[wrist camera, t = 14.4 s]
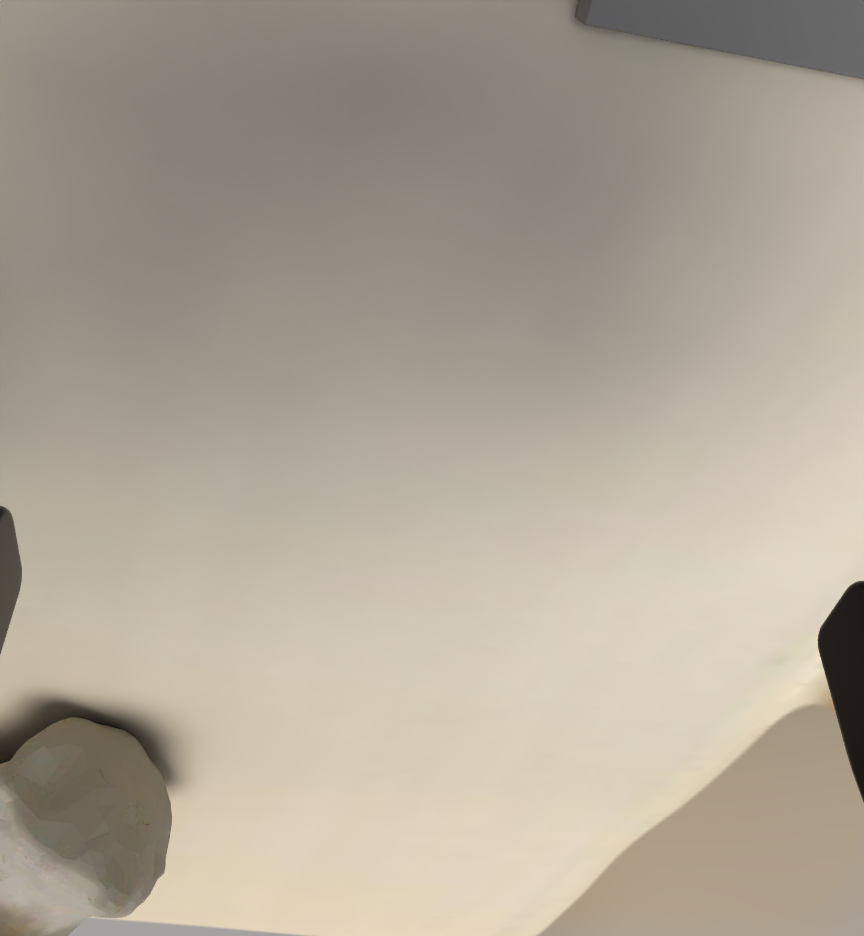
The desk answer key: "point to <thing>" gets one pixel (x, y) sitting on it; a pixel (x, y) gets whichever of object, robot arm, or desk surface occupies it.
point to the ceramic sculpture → (79, 828)
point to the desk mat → (747, 28)
